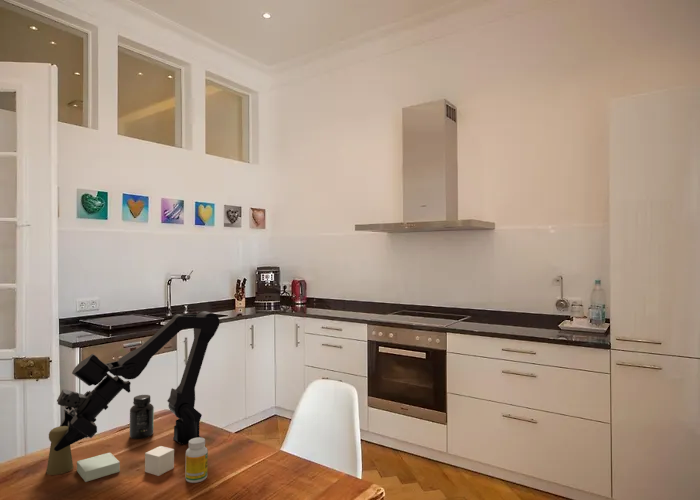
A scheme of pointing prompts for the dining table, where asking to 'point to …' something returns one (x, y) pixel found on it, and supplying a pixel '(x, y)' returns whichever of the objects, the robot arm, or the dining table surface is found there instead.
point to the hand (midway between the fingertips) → (53, 445)
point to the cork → (58, 453)
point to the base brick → (98, 466)
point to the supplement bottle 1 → (141, 417)
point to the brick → (159, 460)
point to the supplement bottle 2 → (196, 461)
